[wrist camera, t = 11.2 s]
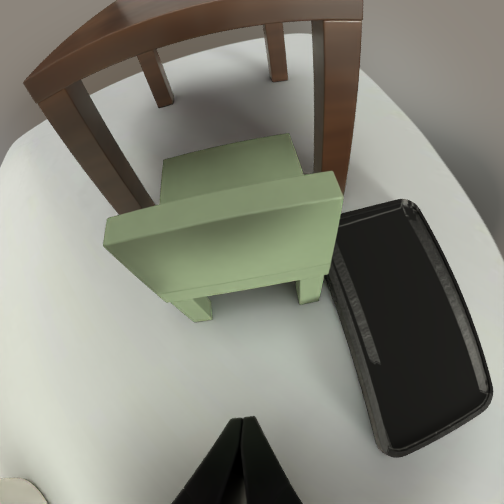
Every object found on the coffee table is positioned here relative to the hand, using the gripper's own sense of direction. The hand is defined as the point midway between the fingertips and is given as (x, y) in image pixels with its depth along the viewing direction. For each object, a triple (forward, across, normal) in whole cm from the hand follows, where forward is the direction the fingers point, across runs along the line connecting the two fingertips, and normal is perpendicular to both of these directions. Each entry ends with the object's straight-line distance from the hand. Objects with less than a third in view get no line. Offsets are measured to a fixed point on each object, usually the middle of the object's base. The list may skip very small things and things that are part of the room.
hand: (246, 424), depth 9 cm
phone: (+7, -9, +2) cm, 12 cm away
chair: (+12, 0, -3) cm, 12 cm away
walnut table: (+20, 0, -12) cm, 24 cm away
